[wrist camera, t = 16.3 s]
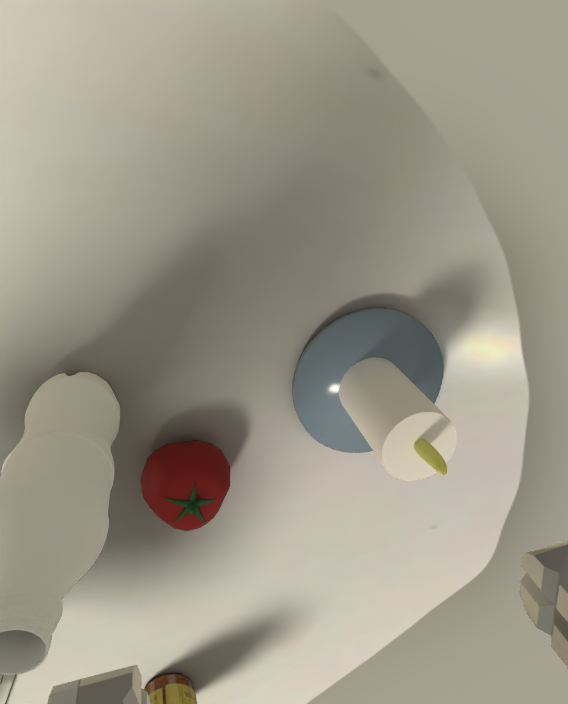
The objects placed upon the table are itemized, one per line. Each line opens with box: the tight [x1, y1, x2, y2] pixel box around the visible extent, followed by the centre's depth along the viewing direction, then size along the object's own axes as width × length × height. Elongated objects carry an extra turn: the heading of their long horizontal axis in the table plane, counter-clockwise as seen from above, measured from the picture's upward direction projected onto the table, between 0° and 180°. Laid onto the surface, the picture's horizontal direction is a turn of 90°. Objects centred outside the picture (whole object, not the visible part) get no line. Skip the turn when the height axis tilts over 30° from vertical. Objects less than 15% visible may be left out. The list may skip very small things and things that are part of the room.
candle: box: [339, 357, 457, 481], centre depth 45 cm, size 6×6×15 cm
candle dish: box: [292, 308, 443, 453], centre depth 52 cm, size 15×15×2 cm
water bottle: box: [0, 372, 120, 675], centre depth 36 cm, size 7×7×25 cm
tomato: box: [141, 440, 230, 531], centre depth 49 cm, size 8×8×7 cm
